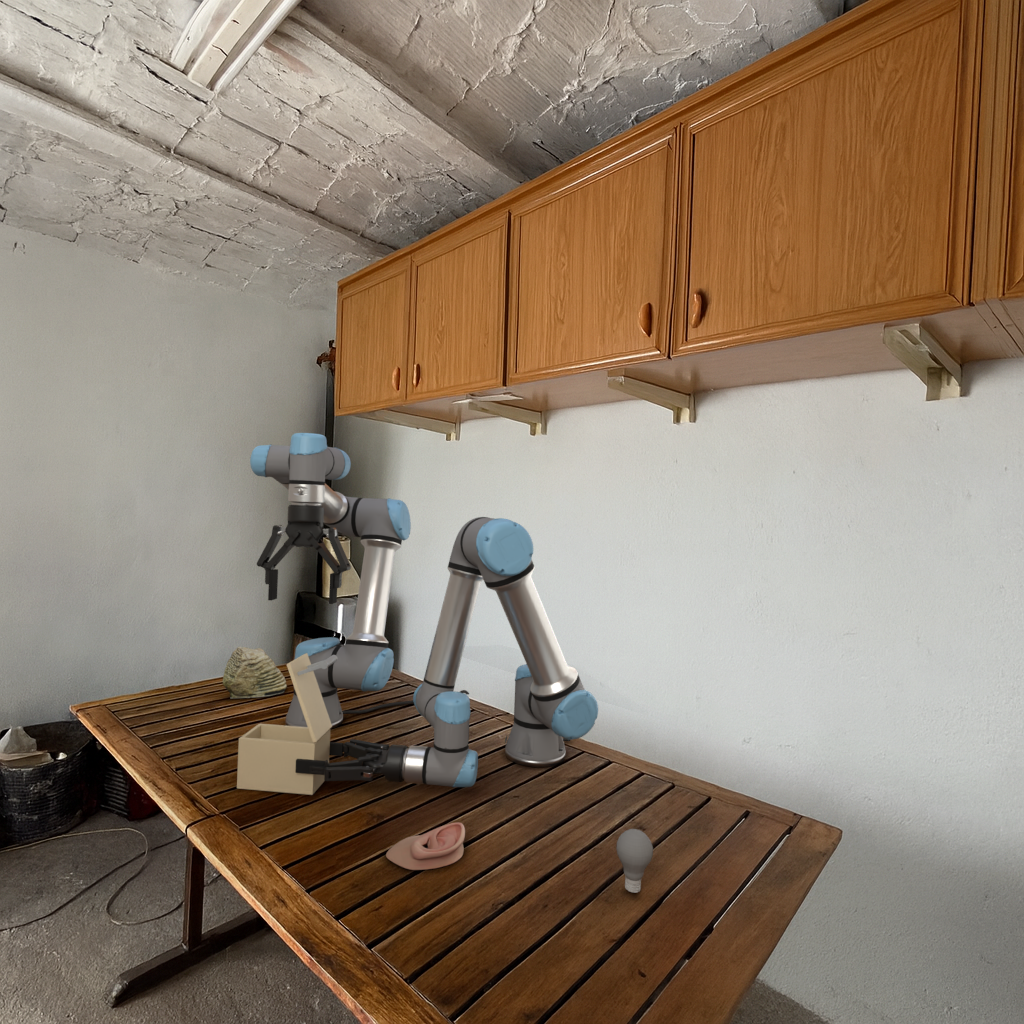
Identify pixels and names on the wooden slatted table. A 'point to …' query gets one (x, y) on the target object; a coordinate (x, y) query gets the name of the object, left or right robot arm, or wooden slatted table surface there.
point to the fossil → (252, 674)
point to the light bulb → (634, 857)
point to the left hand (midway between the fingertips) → (302, 601)
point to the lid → (311, 693)
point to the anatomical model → (430, 848)
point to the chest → (279, 759)
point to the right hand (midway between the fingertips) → (305, 756)
